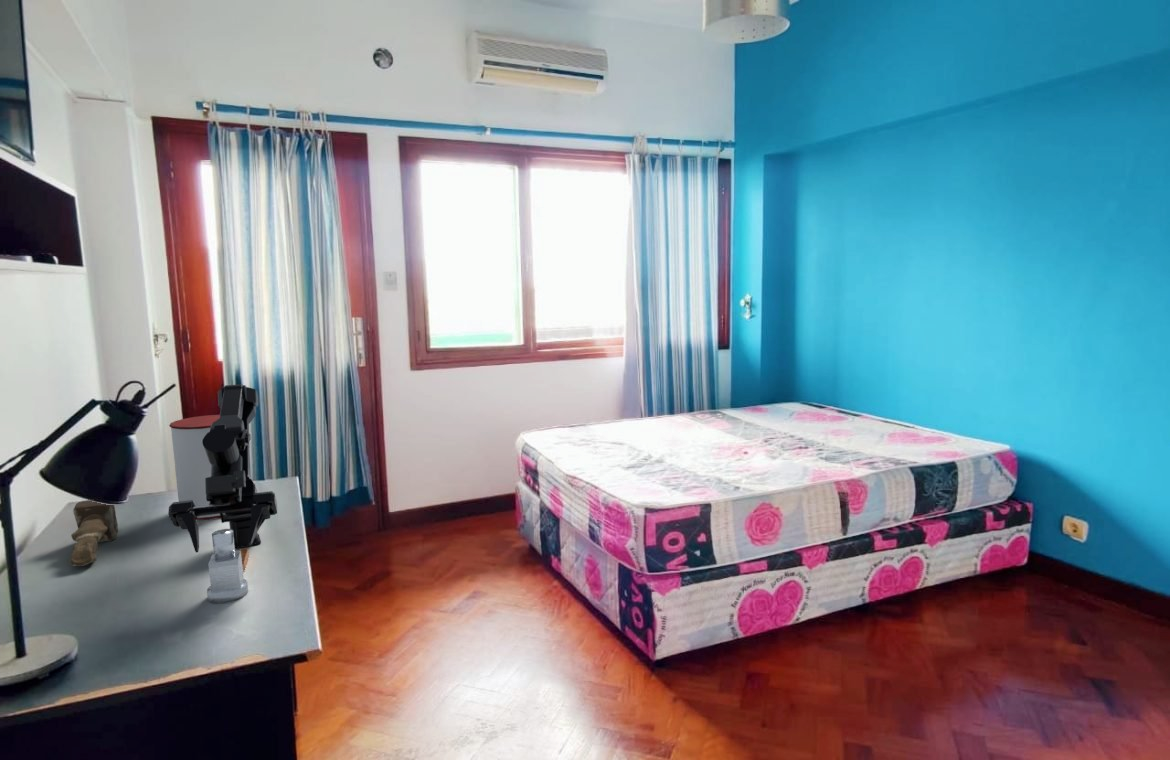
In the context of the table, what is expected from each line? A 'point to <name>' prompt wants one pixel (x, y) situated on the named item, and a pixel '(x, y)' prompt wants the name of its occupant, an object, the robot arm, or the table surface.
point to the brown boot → (92, 530)
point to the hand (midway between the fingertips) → (223, 547)
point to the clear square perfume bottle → (225, 563)
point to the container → (192, 459)
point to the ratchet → (231, 594)
